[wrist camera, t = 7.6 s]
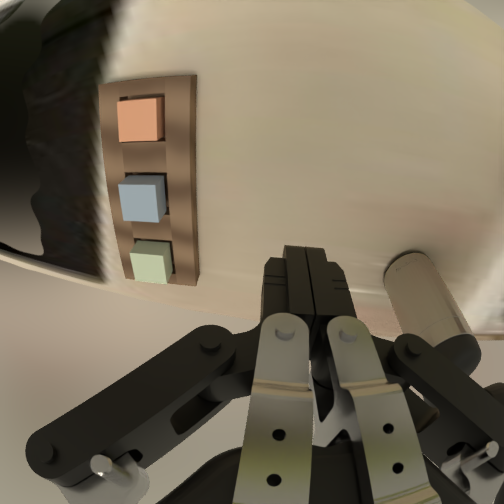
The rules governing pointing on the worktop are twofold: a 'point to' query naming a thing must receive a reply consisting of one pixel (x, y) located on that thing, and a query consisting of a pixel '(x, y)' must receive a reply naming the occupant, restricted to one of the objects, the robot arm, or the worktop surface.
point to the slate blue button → (142, 198)
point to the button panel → (156, 170)
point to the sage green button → (151, 261)
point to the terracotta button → (141, 119)
